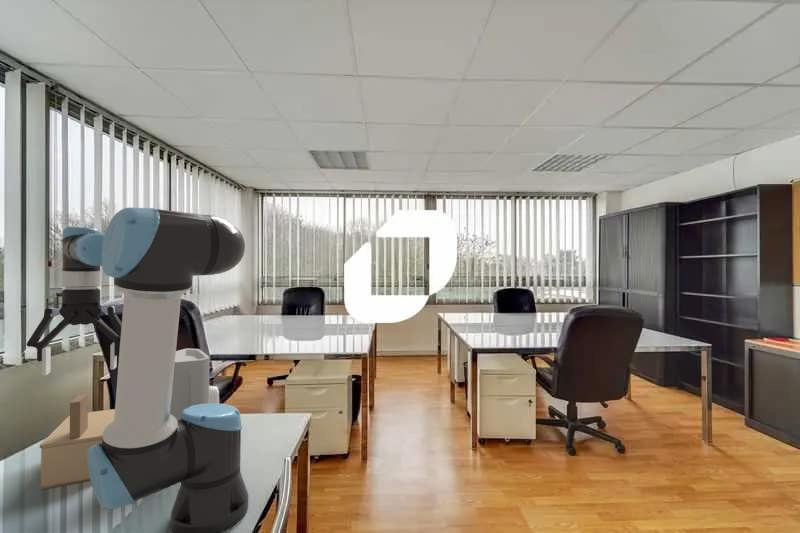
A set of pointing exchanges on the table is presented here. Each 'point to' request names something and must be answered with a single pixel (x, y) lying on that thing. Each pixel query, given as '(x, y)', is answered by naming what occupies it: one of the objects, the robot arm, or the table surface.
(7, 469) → the table surface
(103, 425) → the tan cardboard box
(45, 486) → the tan rectangular open box
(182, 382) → the grey tapered bin
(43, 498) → the table surface
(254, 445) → the table surface
